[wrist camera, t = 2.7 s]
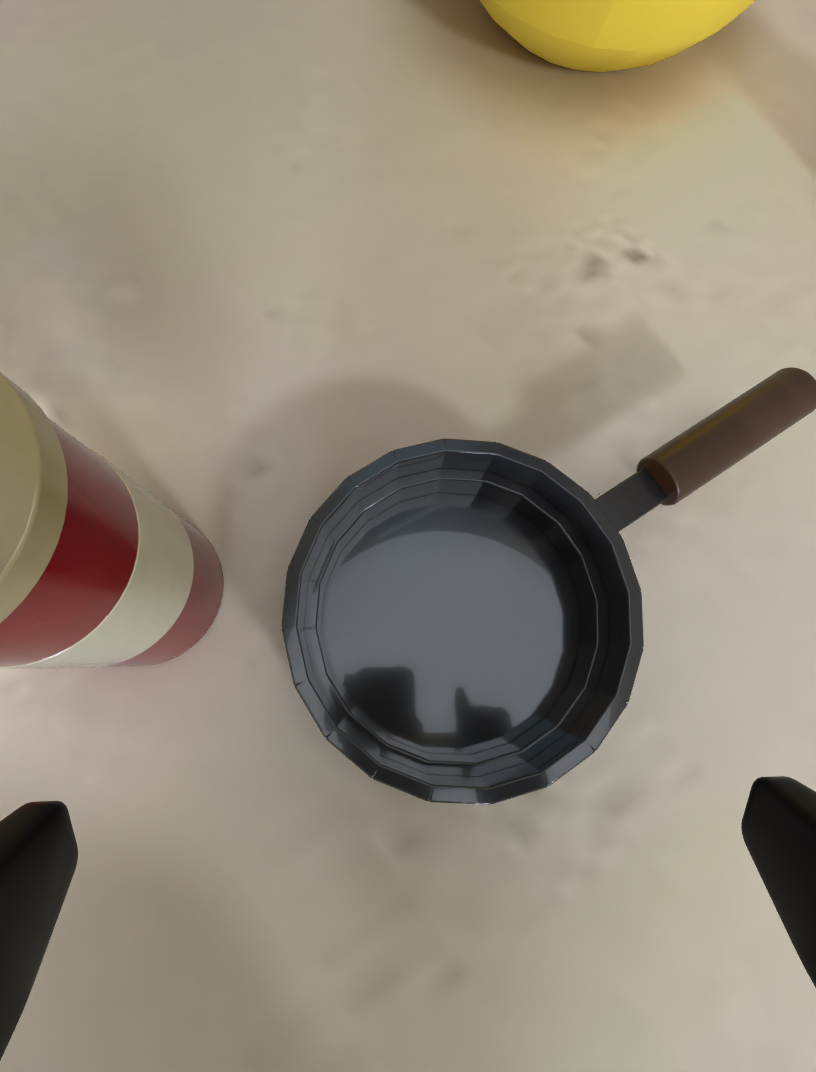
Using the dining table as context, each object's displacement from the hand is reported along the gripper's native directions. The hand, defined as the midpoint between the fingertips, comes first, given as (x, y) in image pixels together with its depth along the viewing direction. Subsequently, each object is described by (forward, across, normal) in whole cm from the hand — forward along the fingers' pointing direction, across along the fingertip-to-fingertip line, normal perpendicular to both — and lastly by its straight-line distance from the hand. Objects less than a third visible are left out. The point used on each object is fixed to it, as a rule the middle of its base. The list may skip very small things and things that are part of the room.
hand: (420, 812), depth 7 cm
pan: (+14, -2, +5) cm, 15 cm away
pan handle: (+15, -11, -1) cm, 19 cm away
